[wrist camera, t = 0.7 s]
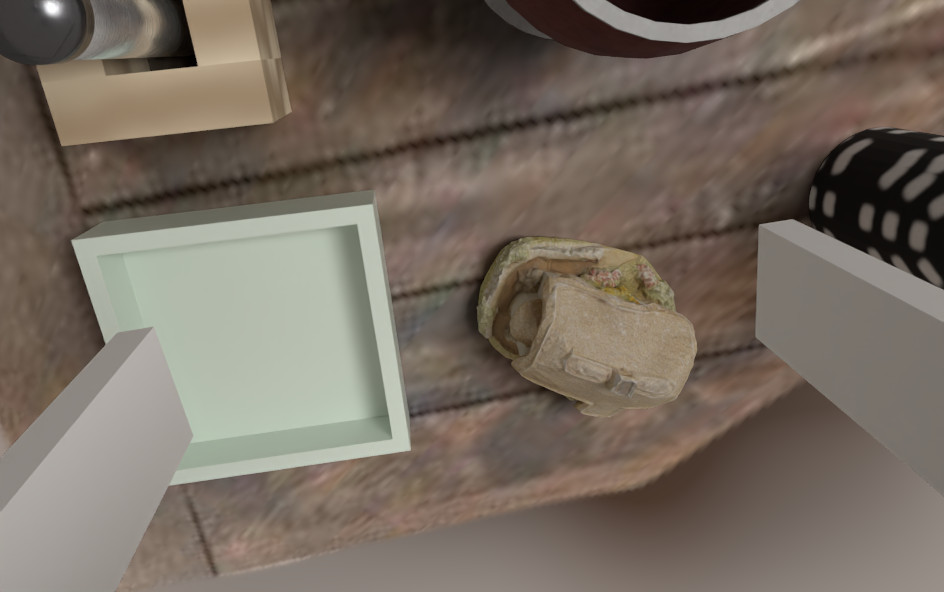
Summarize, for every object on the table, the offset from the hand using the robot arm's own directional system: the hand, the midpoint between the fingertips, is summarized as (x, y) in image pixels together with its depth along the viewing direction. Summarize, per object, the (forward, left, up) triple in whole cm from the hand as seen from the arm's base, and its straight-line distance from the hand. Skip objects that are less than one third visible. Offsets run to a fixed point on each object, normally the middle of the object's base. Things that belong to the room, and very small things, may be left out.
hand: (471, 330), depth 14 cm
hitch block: (-8, -12, -27) cm, 30 cm away
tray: (+10, -11, -27) cm, 31 cm away
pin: (-8, -12, -27) cm, 30 cm away
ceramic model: (+12, +9, -27) cm, 31 cm away
